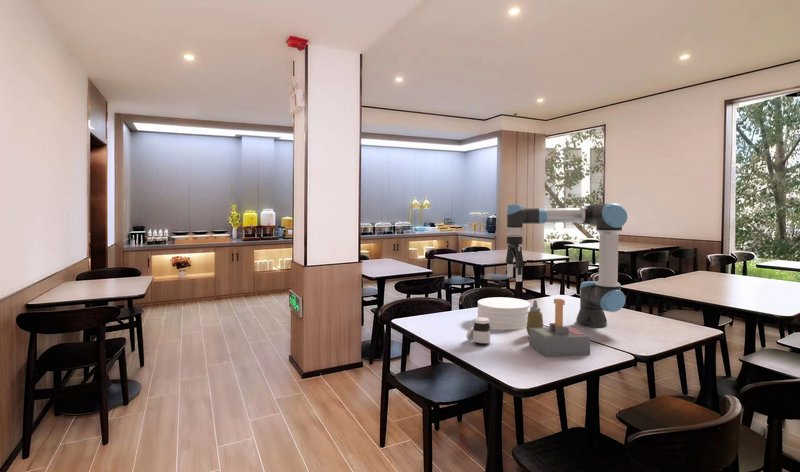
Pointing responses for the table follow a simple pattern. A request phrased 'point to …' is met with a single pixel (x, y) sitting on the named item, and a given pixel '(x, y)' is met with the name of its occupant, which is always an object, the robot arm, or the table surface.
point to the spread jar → (480, 332)
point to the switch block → (559, 341)
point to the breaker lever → (559, 312)
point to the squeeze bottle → (534, 317)
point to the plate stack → (504, 312)
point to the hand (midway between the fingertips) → (514, 279)
